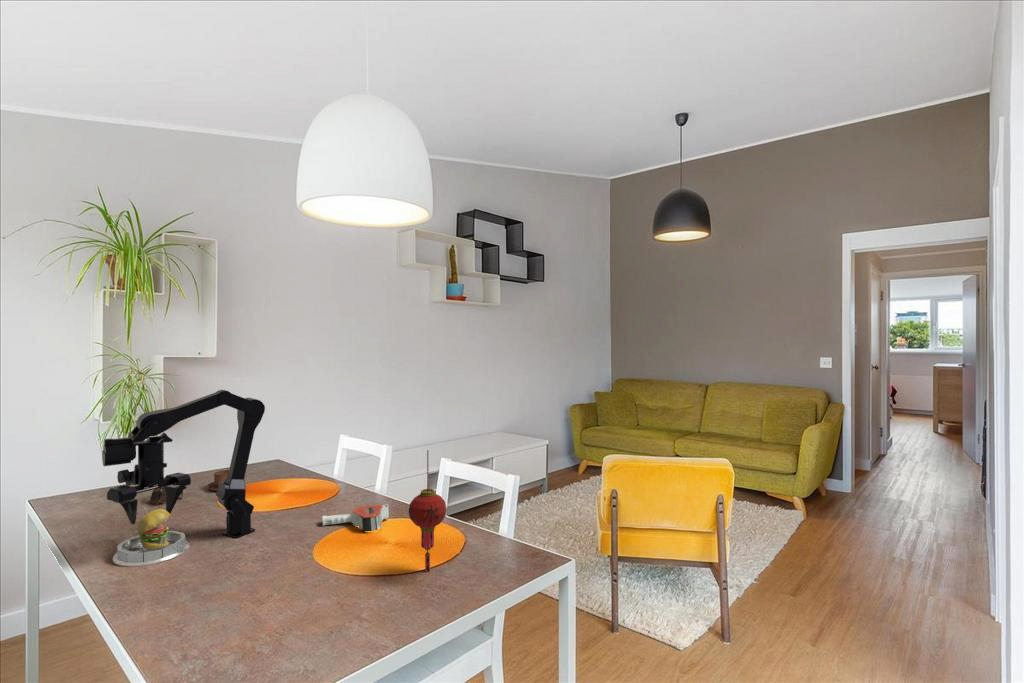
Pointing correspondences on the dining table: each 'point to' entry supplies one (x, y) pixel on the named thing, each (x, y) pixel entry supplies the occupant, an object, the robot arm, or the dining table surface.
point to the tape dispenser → (361, 517)
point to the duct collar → (149, 551)
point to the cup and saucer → (218, 479)
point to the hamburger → (153, 529)
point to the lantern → (427, 516)
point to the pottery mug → (159, 496)
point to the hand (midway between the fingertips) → (151, 518)
